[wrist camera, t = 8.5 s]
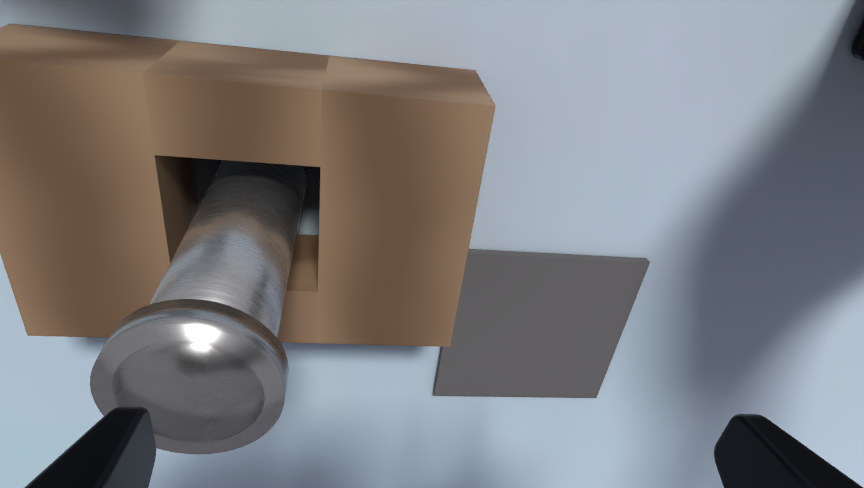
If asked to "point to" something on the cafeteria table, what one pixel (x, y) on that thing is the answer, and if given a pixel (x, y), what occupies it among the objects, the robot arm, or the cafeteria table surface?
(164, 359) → the pin
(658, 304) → the cafeteria table surface
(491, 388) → the mat
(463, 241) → the socket block
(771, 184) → the cafeteria table surface
